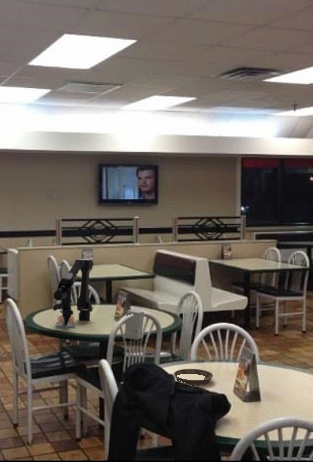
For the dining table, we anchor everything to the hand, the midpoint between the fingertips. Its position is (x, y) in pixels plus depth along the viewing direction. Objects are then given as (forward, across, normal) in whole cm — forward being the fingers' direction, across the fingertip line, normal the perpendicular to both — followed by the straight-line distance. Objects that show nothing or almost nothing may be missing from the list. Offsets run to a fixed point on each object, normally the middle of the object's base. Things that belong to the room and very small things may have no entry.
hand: (65, 323), depth 379 cm
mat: (+2, 0, 0) cm, 2 cm away
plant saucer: (+2, +113, +42) cm, 121 cm away
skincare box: (+2, +31, +35) cm, 47 cm away
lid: (+2, 0, 0) cm, 2 cm away
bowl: (+2, -12, +2) cm, 12 cm away
